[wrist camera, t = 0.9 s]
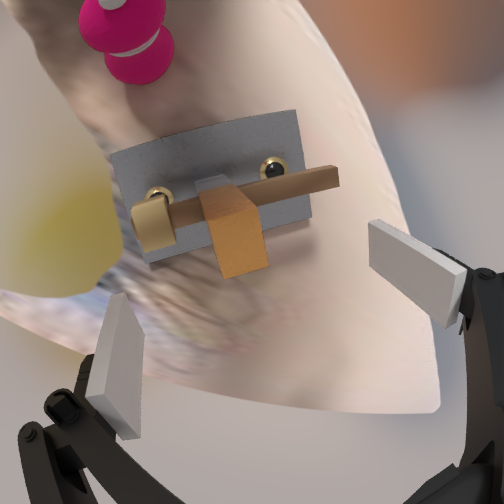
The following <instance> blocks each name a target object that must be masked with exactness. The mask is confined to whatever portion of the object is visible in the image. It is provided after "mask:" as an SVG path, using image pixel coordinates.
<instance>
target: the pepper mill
mask: <svg viewBox="0 0 504 504" xmlns="http://www.w3.org/2000/svg"><path fill="white" fill-rule="evenodd" d="M164 15H165V1H164V0H85V2H84V3H83V5H82V7H81V10H80V13H79V18H78V22H79V30H80V33H81V35H82V37H83V39H84V40H85V42H86V43H87V44H88V45H89V46H91V47H92V48H94V49H95V50H97V51H100V52H103V53H104V55H105V63H106V65H107V68H108V69H109V71H110V73H111V74H112V75H113V76H114V77H115V78H116V79H118V80H120V81H122V82H124V83H129V84H138V85H143V84H148V83H151V82H153V81H155V80H157V79H158V78H160V77H161V76H162V75H163V74H164V72H165V71H166V70H167V68H168V66H169V64H170V62H171V60H172V58H173V55H174V42H173V39H172V36H171V34H170V32H169V31H168V30H167V28H166V27H164V26H163V25H162V22H163V20H164Z"/></svg>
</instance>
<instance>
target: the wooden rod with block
mask: <svg viewBox="0 0 504 504" xmlns="http://www.w3.org/2000/svg"><path fill="white" fill-rule="evenodd" d="M236 187H237V188H238V189H239V190H240V191H241V192H242V193H243V194H244V195H245V196H246V197H247V198H248V199H249V200H250V201H251V202H252V203H253V204H254V205H255V206H256V207H258V206H262V205H265V204H269V203H273V202H277V201H281V200H285V199H289V198H293V197H297V196H301V195H306V194H310V193H314V192H318V191H322V190H327V189H331V188H335V187H340V185H339V176H338V168H337V167H336V166H332V165H327V166H322V167H317V168H313V169H308V170H303V171H298V172H294V173H289V174H285V175H280V176H276V177H272V178H267V179H263V180H259V181H255V182H251V183H247V184H243V185H239V186H236ZM130 212H131V215H132V217H131V219H130V221H131V224H132V227H133V230H134V233H135V236H136V239H137V240H140V241H141V244H142V247H143V250H144V253H147V252H150V251H153V250H157V249H160V248H164V247H167V246H170V245H174V244H176V231H175V229H178V228H181V227H184V226H188V225H191V224H195V223H199V222H202V221H205V218H204V214H203V210H202V206H201V203H200V199H199V196H197V197H193V198H190V199H186V200H183V201H179V202H176V203H172V204H169V205H168V204H167V200H166V197H165V194H162V195H158V196H155V197H152V198H149V199H145V200H142V201H139V202H136V203H134V205H133V207H132V209H131V211H130Z"/></svg>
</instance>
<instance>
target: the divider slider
mask: <svg viewBox="0 0 504 504" xmlns="http://www.w3.org/2000/svg"><path fill="white" fill-rule="evenodd" d="M194 182H195V186H196V189H197V193H198V196H199V199H200V203H201V206H202V210H203V214H204V218H205V223H206V227H207V230H208V233H209V236H210V239H211V242H212V245H213V248H214V251H215V254H216V257H217V261H218V264H219V267H220V270H221V273H222V276H223V279H227V278H230V277H234V276H237V275H241V274H244V273H247V272H251V271H254V270H258V269H261V268H264V267H268V266H269V264H268V259H267V254H266V249H265V244H264V238H263V233H262V228H261V223H260V218H259V213H258V208H257V207H256V206H255V205H254V204H253V203H252V202H251V201H250V200H249V199H248V198H247V197H246V196H245V195H244V194H243V193H242V192H241V191H240V190H239V189H238V188H237V187H236V186H235V185H234V184H233V183H232V182H231V181H230V180H229V179H228V178H227V177H226V176H225V175H224V174H221V175H217V176H213V177H209V178H205V179H202V180H198V181H194Z"/></svg>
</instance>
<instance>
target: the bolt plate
mask: <svg viewBox="0 0 504 504" xmlns="http://www.w3.org/2000/svg"><path fill="white" fill-rule="evenodd" d="M110 157H111V160H112V164H113V168H114V171H115V175H116V178H117V181H118V185H119V188H120V191H121V195H122V198H123V201H124V204H125V207H126V210H127V213H128V217H129V220H130V219H131V217H132V215H131V212H130V211H131V209H132V207H133V205H134V203H136V202H139V201H142V200H145V199H149V198H152V197H155V196H158V195H162V194H165V197H166V200H167V204H168V205H169V204H172V203H176V202H179V201H183V200H186V199H190V198H193V197H197V196H198V193H197V189H196V186H195V182H194V181H198V180H202V179H205V178H209V177H213V176H217V175H221V174H224V175H225V176H226V177H227V178H228V179H229V180H230V181H231V182H232V183H233V184H234V185H235V186H239V185H243V184H247V183H251V182H255V181H259V180H263V179H267V178H272V177H276V176H280V175H285V174H289V173H294V172H298V171H303V170H306V169H305V163H304V156H303V150H302V144H301V138H300V132H299V126H298V120H297V115H296V110H288V111H281V112H275V113H269V114H263V115H258V116H252V117H247V118H242V119H237V120H232V121H227V122H223V123H218V124H214V125H210V126H205V127H201V128H197V129H193V130H189V131H185V132H182V133H178V134H174V135H170V136H167V137H163V138H160V139H157V140H153V141H150V142H147V143H143V144H140V145H137V146H134V147H131V148H128V149H125V150H122V151H119V152H116V153H113V154H111V155H110ZM257 208H258V213H259V218H260V223H261V228H262V231H264V230H267V229H271V228H274V227H278V226H282V225H285V224H289V223H293V222H297V221H300V220H304V219H308V218H311V217H312V212H311V204H310V197H309V194H306V195H301V196H297V197H293V198H289V199H285V200H281V201H277V202H273V203H269V204H265V205H262V206H258V207H257ZM130 223H131V221H130ZM131 225H132V224H131ZM132 228H133V227H132ZM133 231H134V230H133ZM175 231H176V244H174V245H170V246H167V247H164V248H160V249H157V250H153V251H150V252H147V253H144V250H143V247H142V244H141V241H140V240H137V239H136V240H137V243H138V246H139V248H140V251H141V254H142V257H143V259H144V262H145V264H147V263H151V262H154V261H158V260H161V259H164V258H168V257H171V256H175V255H178V254H182V253H185V252H189V251H192V250H196V249H199V248H203V247H206V246H210V245H212V242H211V239H210V236H209V233H208V230H207V227H206V223H205V221H202V222H199V223H195V224H191V225H188V226H184V227H181V228H178V229H175ZM134 234H135V233H134ZM135 237H136V236H135Z"/></svg>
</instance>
